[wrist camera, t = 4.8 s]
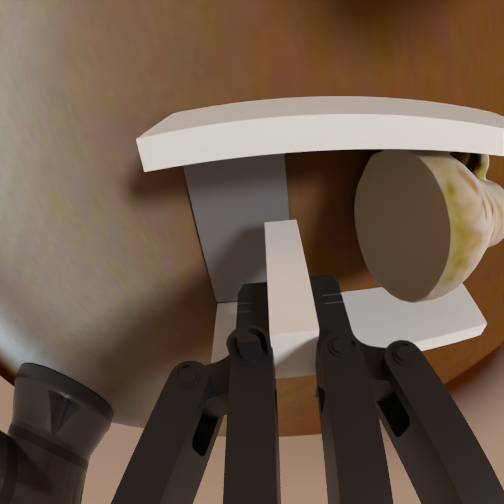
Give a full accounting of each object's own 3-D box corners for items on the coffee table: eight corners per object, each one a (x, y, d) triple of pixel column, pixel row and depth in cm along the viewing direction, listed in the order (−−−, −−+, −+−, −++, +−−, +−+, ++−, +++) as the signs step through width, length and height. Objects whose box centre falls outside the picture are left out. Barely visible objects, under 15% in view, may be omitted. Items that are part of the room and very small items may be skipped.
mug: (474, 239, 17) (474, 362, 11) (360, 184, 20) (313, 291, 14) (523, 158, 11) (575, 276, 6) (390, 87, 14) (363, 152, 8)
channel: (221, 315, 21) (215, 376, 17) (173, 113, 13) (135, 139, 9) (452, 287, 19) (480, 334, 15) (492, 112, 11) (550, 140, 7)
